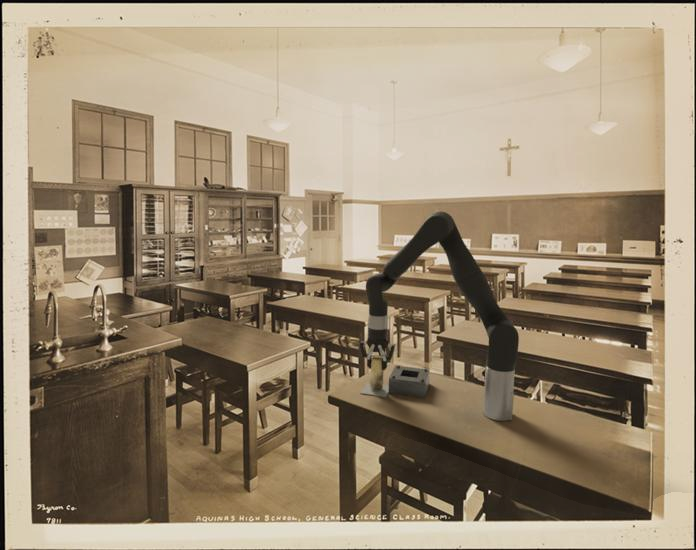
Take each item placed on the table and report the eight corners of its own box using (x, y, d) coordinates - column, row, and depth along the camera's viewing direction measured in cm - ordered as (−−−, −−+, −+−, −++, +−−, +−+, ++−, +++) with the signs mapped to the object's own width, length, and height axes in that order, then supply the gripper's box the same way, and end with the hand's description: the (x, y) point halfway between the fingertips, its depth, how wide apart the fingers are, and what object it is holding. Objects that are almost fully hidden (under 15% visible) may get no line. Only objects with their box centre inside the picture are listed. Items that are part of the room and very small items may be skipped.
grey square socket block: (429, 383, 166) (429, 368, 165) (425, 398, 153) (426, 381, 152) (394, 379, 170) (395, 364, 169) (388, 393, 157) (388, 376, 156)
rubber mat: (391, 386, 162) (391, 385, 162) (386, 397, 153) (386, 396, 153) (367, 383, 165) (367, 382, 165) (360, 393, 156) (360, 392, 156)
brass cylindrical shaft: (384, 385, 160) (385, 355, 159) (381, 390, 156) (382, 360, 154) (371, 383, 162) (372, 354, 160) (368, 388, 157) (369, 358, 155)
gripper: (398, 325, 157) (397, 367, 159) (362, 322, 161) (361, 363, 163) (394, 330, 150) (393, 374, 152) (357, 326, 154) (356, 370, 156)
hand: (376, 368), depth 158 cm, fingers closed on brass cylindrical shaft, 5 cm apart
